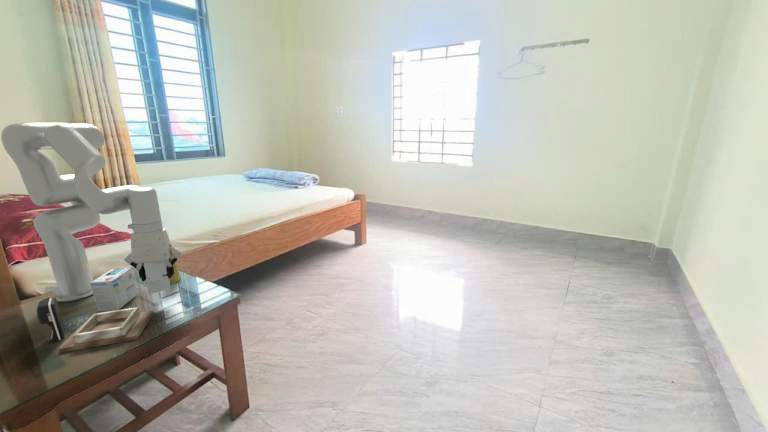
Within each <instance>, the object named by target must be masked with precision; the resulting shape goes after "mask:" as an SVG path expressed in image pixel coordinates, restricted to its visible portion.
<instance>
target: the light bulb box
mask: <svg viewBox="0 0 768 432" xmlns="http://www.w3.org/2000/svg"><path fill="white" fill-rule="evenodd" d="M90 285H91V289H92V292H93V294H92V296H93V298H94V302H95V306H96V309H97V312H109V311H115V310H121V308H123V307H124V306H125V305H127V303H129V302H130V301H131V300H133V299H134V298H135V297H136V296H138V293H137V289H136V284H135V281H134V275H133V272H132V268H131V267H124V268H112V269H109V270H108V271H106V272H104V273H103V274H102V275H100V276H98V277H97V278H95V279H93V281H92V282H90Z"/></svg>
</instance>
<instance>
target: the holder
mask: <svg viewBox="0 0 768 432" xmlns="http://www.w3.org/2000/svg"><path fill="white" fill-rule="evenodd" d="M139 308H140V307H138V306H137V307H129V308H124V309H119V310H115V311H101V312H97V313H96V312H95V313H93V314H92V315H91V316H90V317H89V318H88V319H87V320H84V321H83V322H82V324H81V325H79V326H78V328H76V330H74V332H73V333H72V334H71V335H70V336H69V337H68V338H67V339H66V340H65V341H64V342H63V343H62V344H61V345H60V346H59V347H58V349H57V350H58V351H57V352H58V353H65V352H72V351H77V350H82V349H89V348H94V347H101V346H106V345H111V344H117V343H123V342H129V341H136V340H138V339H139V337H140V336H141V334H142V333H143V331H144V330H145V328H146V326H147V325H148V323H149V322H150V320H151V319H152V317H153V316H154V310H148V311H147V310H146V311H141V312H140V309H139Z"/></svg>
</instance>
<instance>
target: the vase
mask: <svg viewBox="0 0 768 432" xmlns="http://www.w3.org/2000/svg"><path fill="white" fill-rule="evenodd" d="M171 247H173V248H174V245H173V244H171ZM170 257H171V258H172V259H173V258H174V257H175V254H173V253H172V255H171V256H170ZM173 267H174V275H173V276H172V277H171V278H169V282H170V285H172V284H173V285H174V284H176V283H179V282H180V281H181V280H182V278H181V274H180V270H179V266H178V262H177V261H176V262H175V263H174V264H173Z"/></svg>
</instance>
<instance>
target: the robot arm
mask: <svg viewBox="0 0 768 432" xmlns="http://www.w3.org/2000/svg"><path fill="white" fill-rule="evenodd" d="M0 137H1V138H0V139H1V143H2V146H3V149H4V150H5V152H6V153H7V154H8V156H9V157H10V158H11V160H12V161H13V162H14V164H15V165H16V167H17V169H18V171H19V174H20V177H21V179H22V182H23V184H24V186H25V189H26V191H27V194H28V196H29V198H30V200H31V202H32V203H34V205H36V206H39V207H48V206H55V205H60V204H66V203H71V205H69V206H63V207H57V208H53V209H49V210H45V211H41V213H39V214H38V215H36V216H35V217H34V219H33V226H34V229H35V231H36V232H37V233H38V235H39V237H40V239H41V241H42V243H43V245H44V248H45V251H46V254H47V257H48V260H49V264H50V266H51V269H52V273H53V277H54V280H55V283H56V285H52V284H51V285H46V286H45V288H44V289H45V294H52V293H54V295H53V296H54V297H55V298H56V300H57V302H58V303H60V302H62V303H63V302H64V303H65V302H66V303H67V302H73V301H77V300H81V299H85V298H87V297H90V296H93V292H92V289H91V285H90V282H92V281H94V278H93V274H92V271H91V267H90V263H89V259H88V256H87V253H86V249H85V246H84V244H83V242H82V241H81V240H79V239H78V238H76V237H75V236H74V235H75V234H76V233H79V232H83V231H87V230H89V229H93V228H94V227H95V228H96V227H97V226H98V225H99V224H100V221H101V216H100V215H110V214H115V213H119V212H122V211H127V210H129V213H130V219H131V223H130V224H127V229H131V230H132V232H131V234H130V248H131V249H130V250H131V252H130V253H129V254H128V255H127V256H126V257H124V259H123V260H124V262H126V263H127V264H129V265H130V266H131V267H133V268H135V269H136V271H138V276H139V279H141V282H145V281H147V279H146V273H145V268H144V263H152V262H162V261H164V262H165V263H166V264H167V268H166V269H167V275H168V278H171V277H172V276H173V275H174V267H173V264H174V263H175V262H177V261H178V260H179V258H181V256H182V255H183V252H181V251H180V250H178V249H176V248H175V247H174V246H173V247H171V245H172V244H171V240H170V237H169V234H168V232H167V230H166V228H165V227H164V226H163V221H162V217H161V215H162V214H161V211H160V205H159V199H158V195H157V191H156V189H154V187H150V186H143V187H142V186H140V185H139V186H138V185H135V184H126V185H121V186H113V187H108V188H103V189H101V188H100V187H98V186H97V185H96V184H95V182H93V180H92V178H91V177H93V176H94V175H96V174H97V173H99V172H100V171H101V170H102V169H104V167H105V166H106V162H107V160H106V157H105V156H104V155H103V154H102V153H101V152H100V151H99V149H102V148H103V146H104V145H105V136H104V134H103V132H102V131H101V130H100V129H99V128H98V127H97V126H95V125H93V124H90V123H75V122H74V123H73V122H37V121H36V122H17V123H12V124H9V125H7V126H5V127H4V128H3V129H2V131H1V136H0ZM41 150H42V151H43V150H54V151H55V152H56V153H57V154H58V155H59V157H60V158H62V159H63V161H65V162H66V163H67V164H68V166H70V168H72V170H73V171H74V173H69V174H67V173H66V174H60V175H59V174H58V172H57V169H56V166H55V164H54V162H53V161H52V160H51V159H50V158H49V157H48V156H46V155H45V154H44V153H42V152H40V151H41ZM73 234H74V235H73ZM172 253H173V254H175V257H174V258H173V259H172V258H171V257H170V256H171V255H172ZM54 297H53V298H54Z"/></svg>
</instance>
